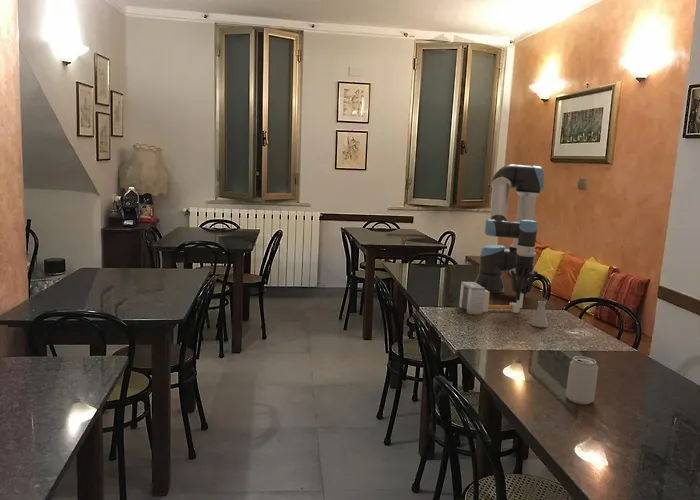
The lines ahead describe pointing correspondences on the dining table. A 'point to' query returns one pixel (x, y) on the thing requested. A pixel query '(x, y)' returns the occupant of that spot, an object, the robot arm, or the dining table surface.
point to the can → (582, 380)
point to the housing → (472, 297)
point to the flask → (540, 316)
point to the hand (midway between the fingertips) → (519, 307)
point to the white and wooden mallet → (512, 307)
